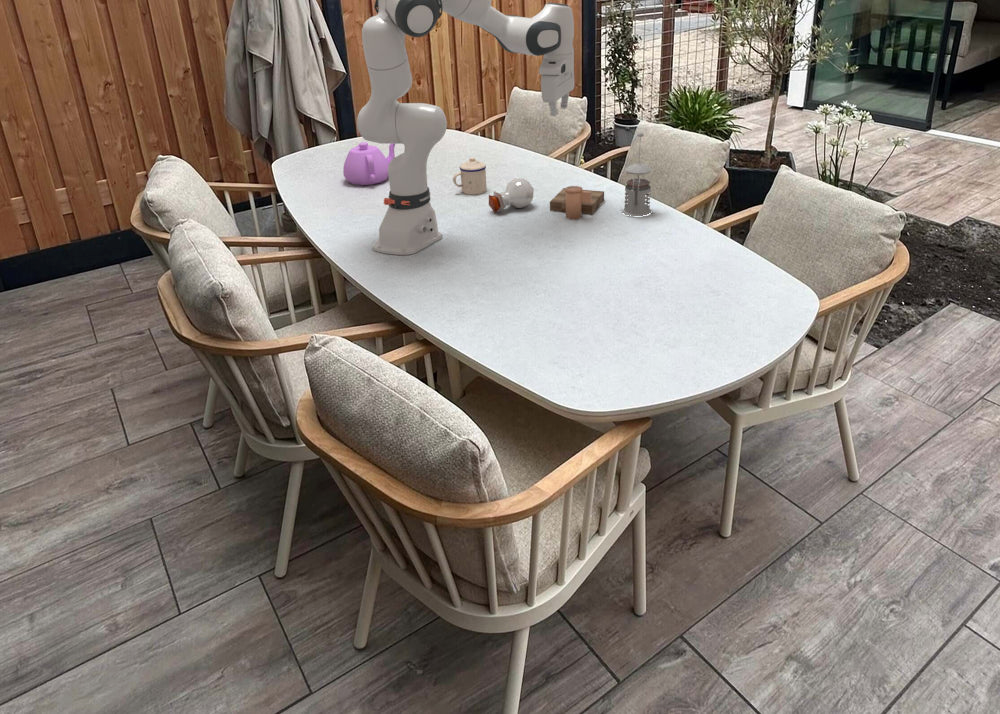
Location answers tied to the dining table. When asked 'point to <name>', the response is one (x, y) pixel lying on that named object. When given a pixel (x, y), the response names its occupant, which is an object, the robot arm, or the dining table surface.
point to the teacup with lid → (472, 177)
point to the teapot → (367, 164)
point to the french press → (637, 189)
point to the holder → (587, 208)
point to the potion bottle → (512, 195)
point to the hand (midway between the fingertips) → (559, 111)
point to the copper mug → (576, 201)
